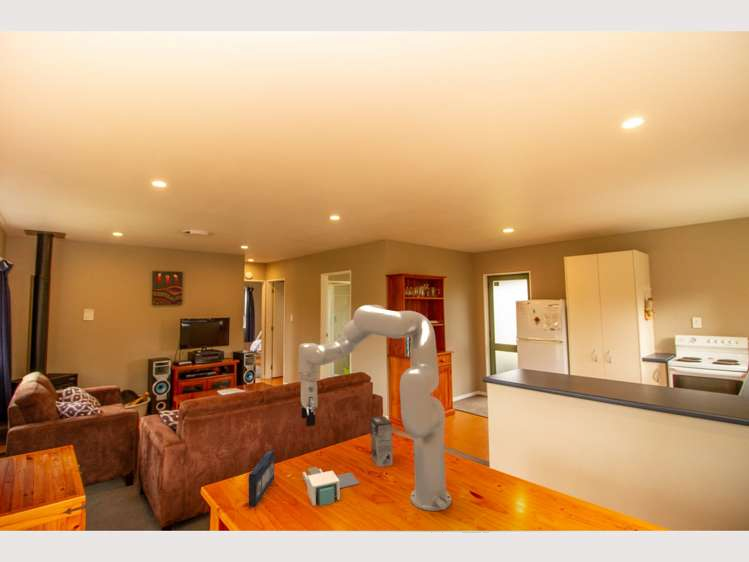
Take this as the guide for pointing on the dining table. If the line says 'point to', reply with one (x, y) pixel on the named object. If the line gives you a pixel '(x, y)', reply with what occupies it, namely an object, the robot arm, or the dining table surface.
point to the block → (325, 494)
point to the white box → (321, 483)
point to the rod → (313, 472)
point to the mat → (347, 480)
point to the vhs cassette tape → (261, 478)
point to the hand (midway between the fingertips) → (308, 421)
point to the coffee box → (381, 441)
